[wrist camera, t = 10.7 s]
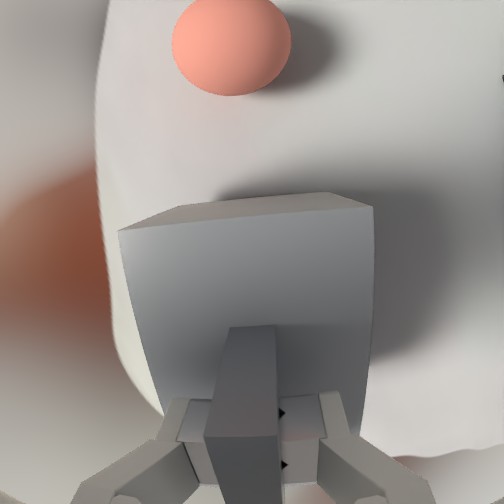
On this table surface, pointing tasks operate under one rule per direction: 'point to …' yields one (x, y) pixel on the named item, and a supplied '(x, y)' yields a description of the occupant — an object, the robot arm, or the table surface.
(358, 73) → the table surface
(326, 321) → the gray hook block
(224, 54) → the ball
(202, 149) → the table surface
